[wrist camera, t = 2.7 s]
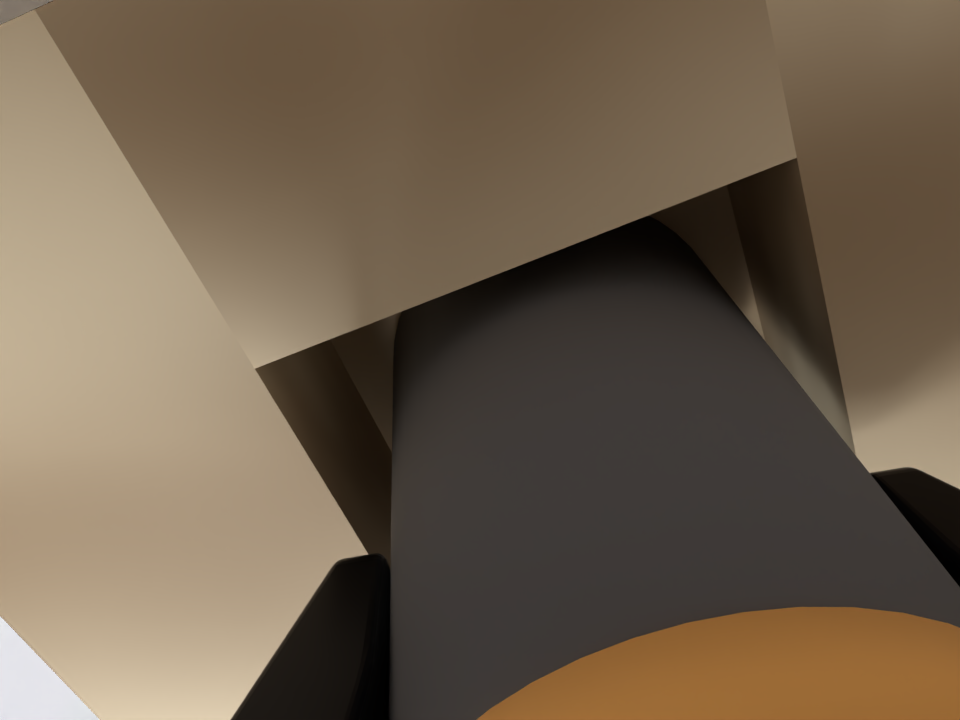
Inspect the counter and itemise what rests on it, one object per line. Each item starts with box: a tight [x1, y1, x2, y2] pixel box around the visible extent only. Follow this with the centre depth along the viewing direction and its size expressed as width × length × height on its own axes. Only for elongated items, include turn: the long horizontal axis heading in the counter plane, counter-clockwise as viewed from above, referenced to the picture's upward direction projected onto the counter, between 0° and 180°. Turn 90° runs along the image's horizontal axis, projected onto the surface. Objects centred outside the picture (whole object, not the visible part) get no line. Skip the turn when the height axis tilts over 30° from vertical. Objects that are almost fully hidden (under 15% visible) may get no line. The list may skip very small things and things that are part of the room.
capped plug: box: [388, 216, 960, 720], centre depth 7 cm, size 4×4×7 cm
